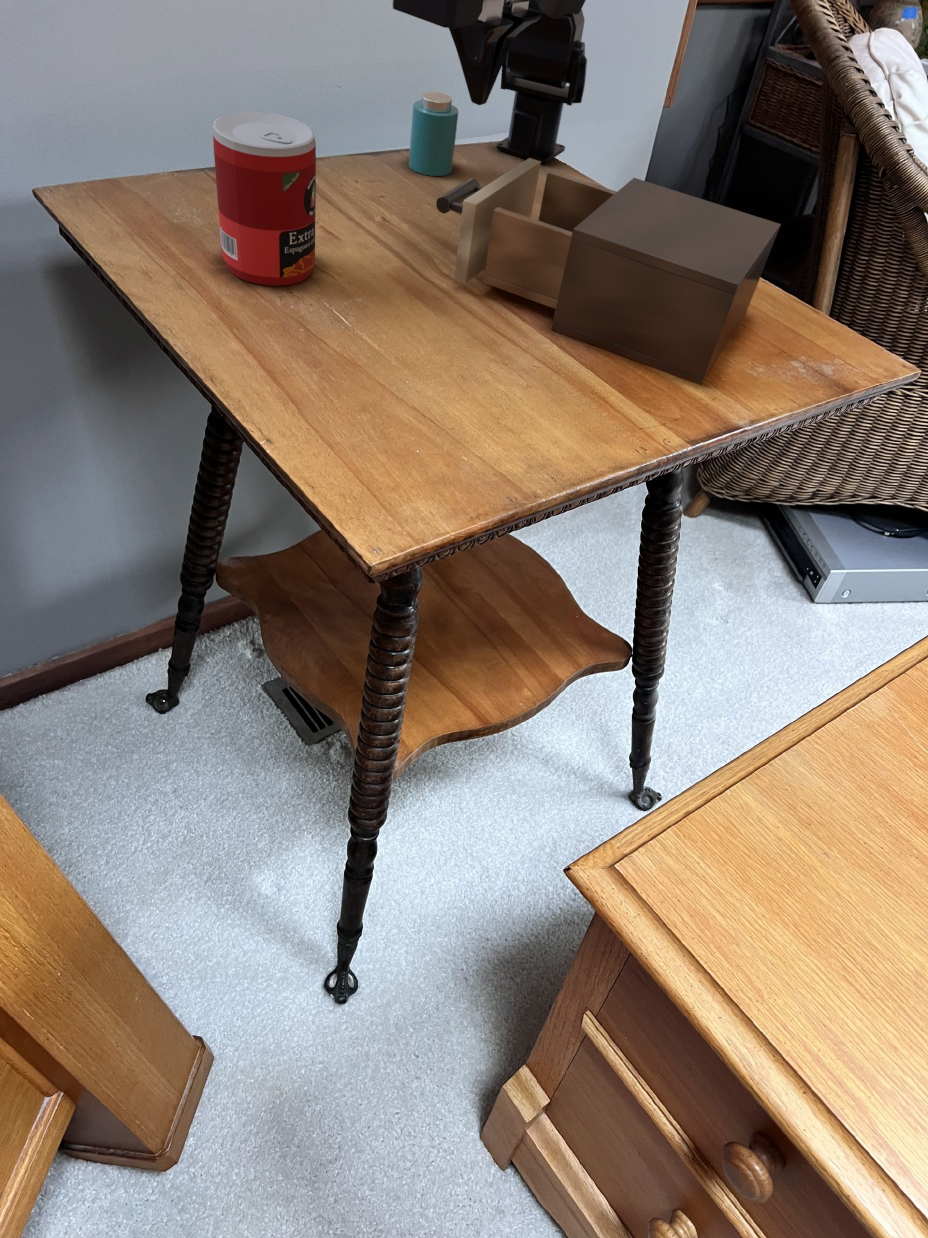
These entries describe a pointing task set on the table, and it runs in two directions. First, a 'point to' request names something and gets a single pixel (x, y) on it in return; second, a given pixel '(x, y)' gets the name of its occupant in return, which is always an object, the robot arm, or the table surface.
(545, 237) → the drawer
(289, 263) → the canned food
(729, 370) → the table surface
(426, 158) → the teal bottle
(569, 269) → the cabinet
